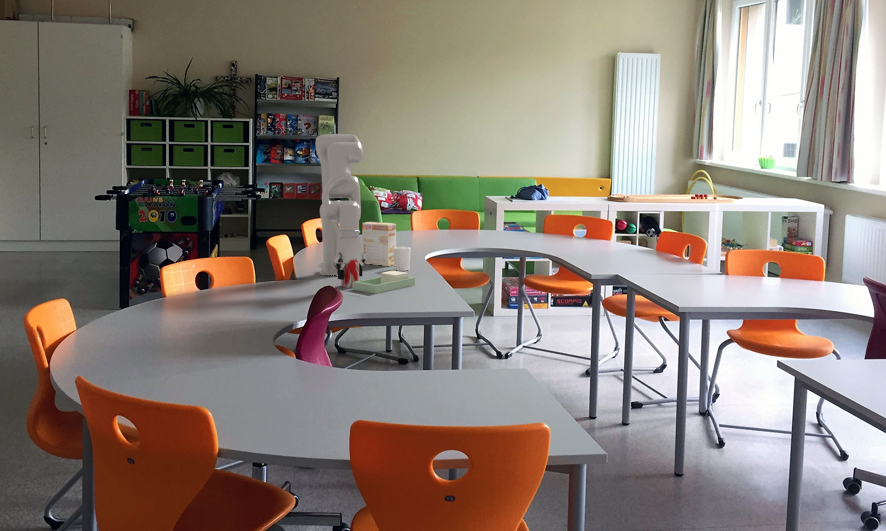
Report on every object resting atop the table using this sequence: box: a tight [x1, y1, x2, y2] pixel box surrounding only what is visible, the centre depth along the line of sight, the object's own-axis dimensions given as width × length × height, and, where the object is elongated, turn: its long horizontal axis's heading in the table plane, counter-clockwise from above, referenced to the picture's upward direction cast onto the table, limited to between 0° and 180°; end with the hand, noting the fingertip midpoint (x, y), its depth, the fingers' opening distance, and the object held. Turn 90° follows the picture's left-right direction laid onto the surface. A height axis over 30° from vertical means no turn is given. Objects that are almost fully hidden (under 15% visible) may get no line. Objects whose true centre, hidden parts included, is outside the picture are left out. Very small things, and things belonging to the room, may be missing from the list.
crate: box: [352, 276, 416, 295], centre depth 303 cm, size 12×22×4 cm, turn 140°
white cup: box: [393, 246, 412, 272], centre depth 348 cm, size 8×8×10 cm
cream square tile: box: [380, 270, 409, 284], centre depth 307 cm, size 8×7×5 cm
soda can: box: [340, 259, 360, 289], centre depth 305 cm, size 7×7×12 cm
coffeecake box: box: [361, 221, 397, 267], centre depth 361 cm, size 15×7×20 cm, turn 58°
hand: (350, 277), depth 305 cm, fingers open, 9 cm apart
